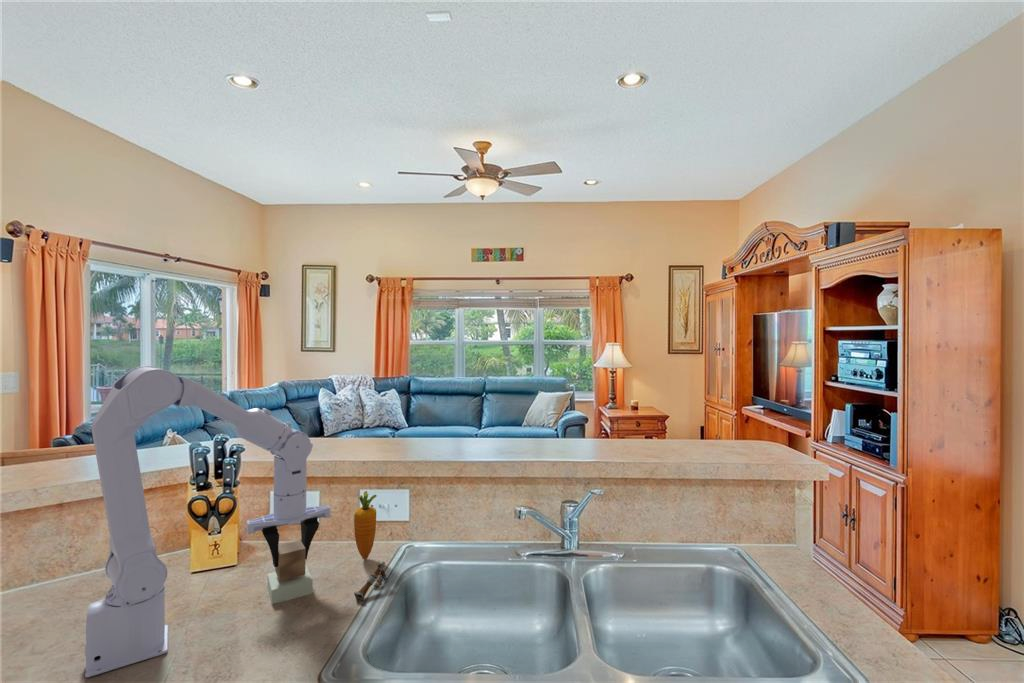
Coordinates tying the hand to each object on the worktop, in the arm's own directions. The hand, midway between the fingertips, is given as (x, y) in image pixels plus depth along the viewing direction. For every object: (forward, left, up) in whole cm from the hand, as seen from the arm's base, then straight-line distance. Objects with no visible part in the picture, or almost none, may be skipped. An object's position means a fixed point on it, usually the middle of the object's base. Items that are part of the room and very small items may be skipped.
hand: (289, 561), depth 91 cm
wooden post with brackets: (+13, -9, -6) cm, 17 cm away
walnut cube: (0, 0, -2) cm, 2 cm away
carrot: (+16, +4, -6) cm, 17 cm away
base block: (0, 0, -6) cm, 6 cm away
